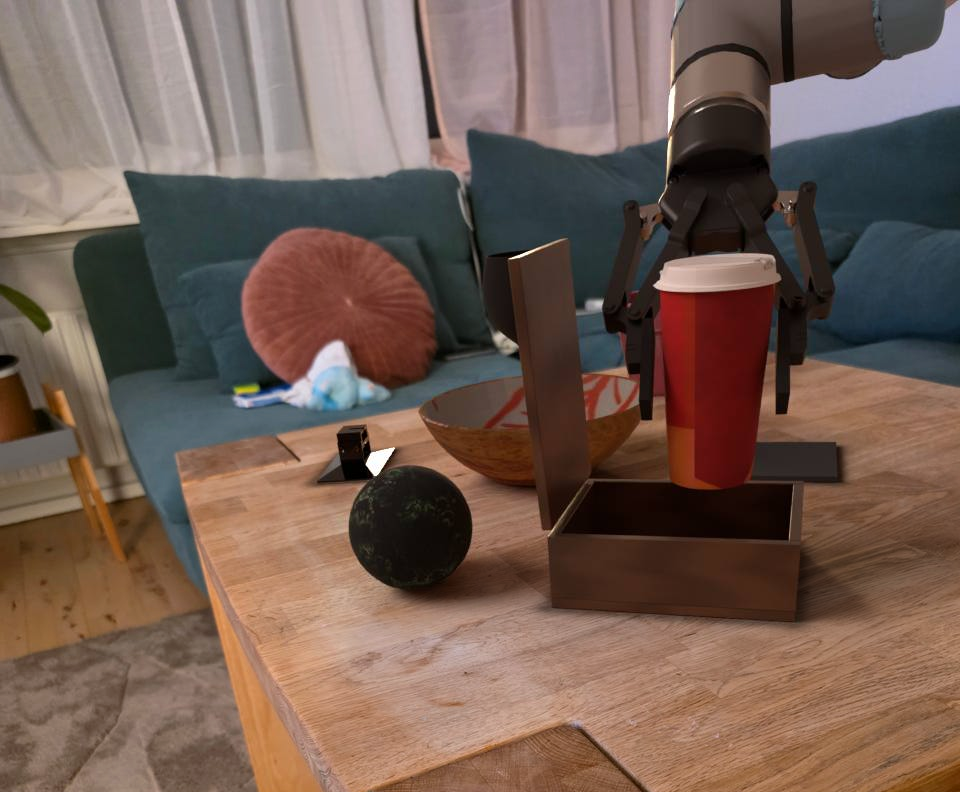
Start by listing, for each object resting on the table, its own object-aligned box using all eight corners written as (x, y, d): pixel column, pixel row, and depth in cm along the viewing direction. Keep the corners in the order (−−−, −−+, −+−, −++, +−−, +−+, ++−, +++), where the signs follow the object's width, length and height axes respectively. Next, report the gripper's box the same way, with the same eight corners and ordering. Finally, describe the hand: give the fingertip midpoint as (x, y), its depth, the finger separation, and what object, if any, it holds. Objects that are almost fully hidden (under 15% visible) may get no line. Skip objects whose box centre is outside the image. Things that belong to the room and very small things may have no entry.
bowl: (630, 512, 85) (629, 429, 81) (391, 506, 93) (379, 430, 89) (669, 438, 106) (669, 369, 102) (470, 439, 114) (464, 375, 110)
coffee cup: (782, 465, 67) (799, 250, 60) (744, 500, 61) (758, 266, 54) (678, 455, 72) (681, 253, 65) (633, 487, 66) (632, 269, 59)
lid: (568, 238, 68) (558, 239, 68) (518, 257, 57) (507, 259, 57) (591, 473, 76) (582, 473, 77) (552, 530, 65) (541, 531, 65)
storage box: (798, 548, 74) (804, 480, 71) (794, 622, 62) (800, 545, 60) (589, 541, 79) (587, 478, 77) (551, 607, 68) (547, 536, 65)
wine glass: (477, 407, 129) (464, 258, 120) (529, 391, 135) (519, 248, 125) (527, 415, 122) (517, 257, 112) (579, 399, 127) (573, 247, 118)
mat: (835, 447, 97) (836, 441, 96) (837, 482, 87) (837, 476, 87) (722, 447, 101) (722, 441, 100) (711, 480, 91) (711, 475, 90)
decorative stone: (355, 617, 70) (334, 495, 65) (361, 568, 79) (343, 457, 74) (482, 602, 70) (469, 480, 65) (474, 555, 79) (462, 444, 74)
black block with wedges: (376, 481, 102) (369, 441, 100) (314, 485, 103) (306, 446, 100) (395, 449, 113) (389, 413, 110) (339, 453, 114) (332, 417, 111)
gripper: (861, 163, 68) (870, 428, 62) (585, 194, 73) (567, 440, 67) (878, 77, 61) (891, 366, 55) (571, 118, 66) (550, 385, 60)
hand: (712, 407), depth 61 cm, fingers closed on coffee cup, 8 cm apart
